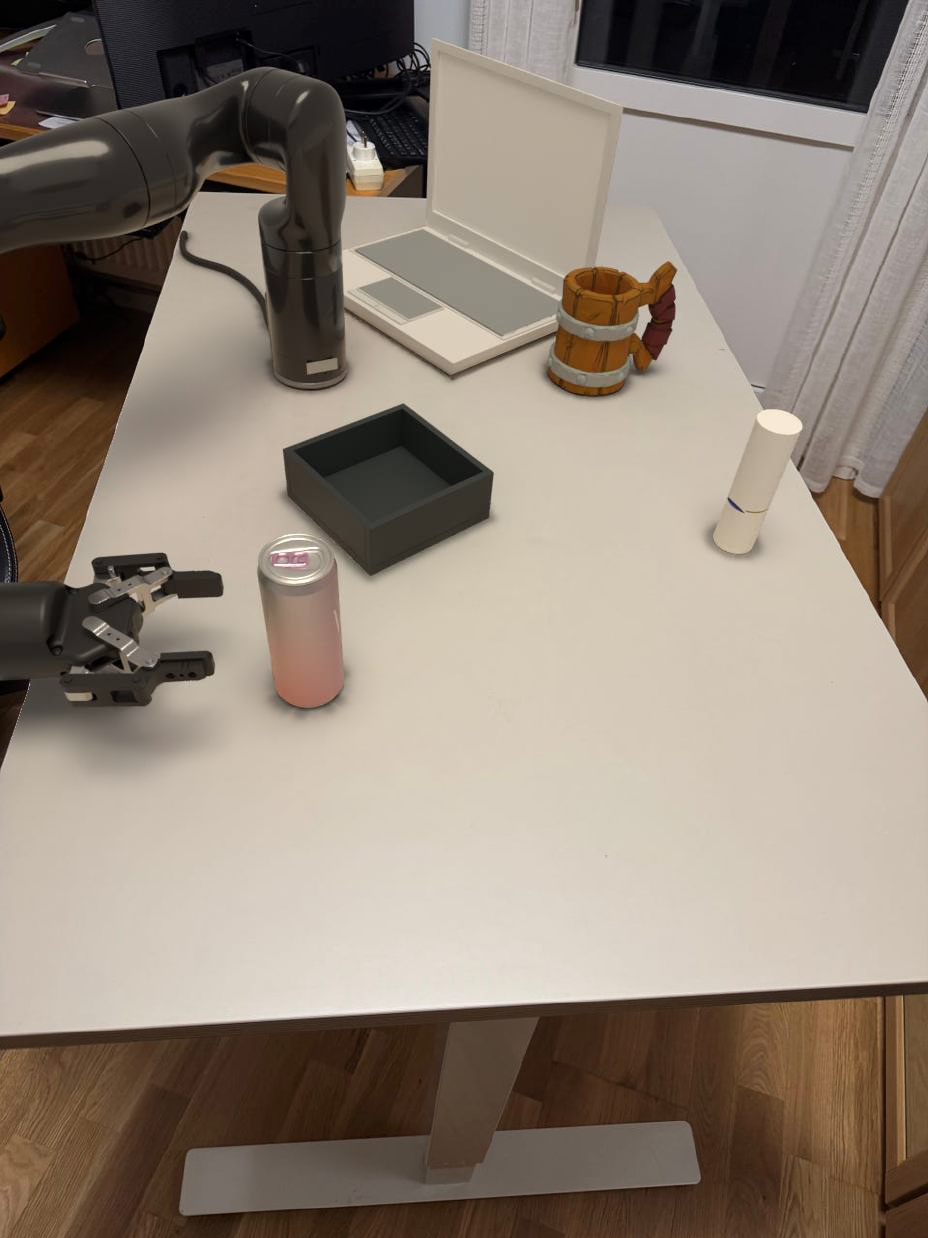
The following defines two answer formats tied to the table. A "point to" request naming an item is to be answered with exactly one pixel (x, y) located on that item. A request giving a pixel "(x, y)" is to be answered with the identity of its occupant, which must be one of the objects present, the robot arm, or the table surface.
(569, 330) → the mug
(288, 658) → the beverage can
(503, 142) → the laptop
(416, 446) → the bin
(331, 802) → the table surface
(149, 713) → the table surface
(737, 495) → the tube
